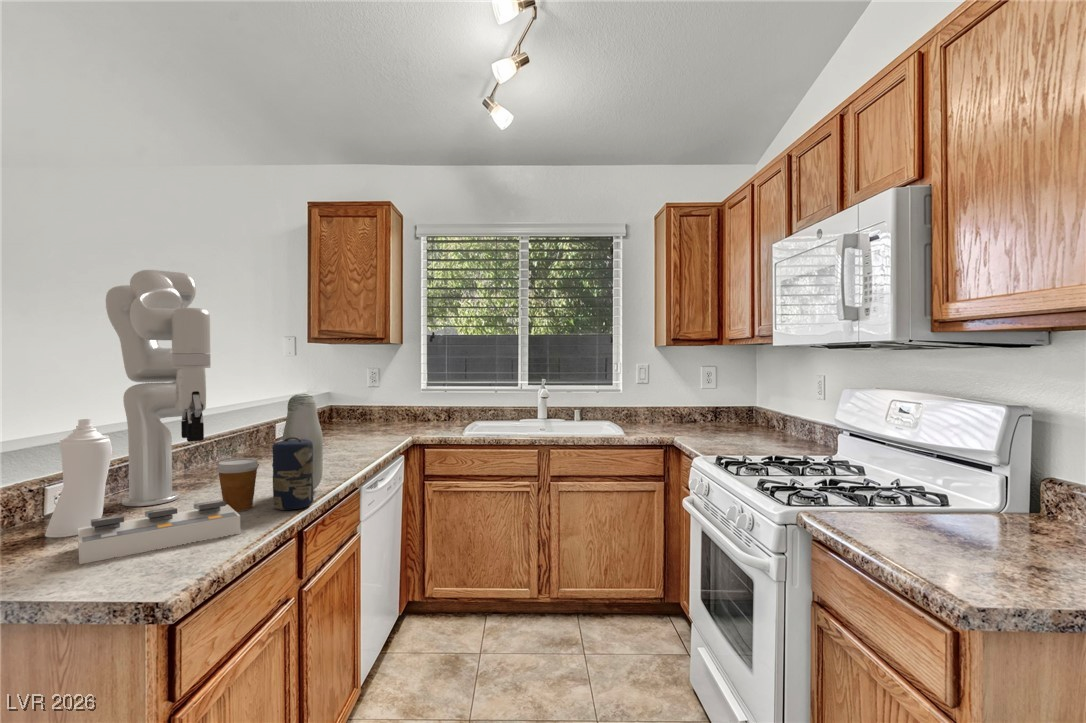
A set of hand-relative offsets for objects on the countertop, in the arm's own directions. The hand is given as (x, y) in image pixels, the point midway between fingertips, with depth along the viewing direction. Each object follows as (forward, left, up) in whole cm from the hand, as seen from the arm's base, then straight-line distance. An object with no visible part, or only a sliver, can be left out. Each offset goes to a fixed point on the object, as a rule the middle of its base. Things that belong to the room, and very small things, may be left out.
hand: (192, 438), depth 129 cm
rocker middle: (+7, -7, -14) cm, 18 cm away
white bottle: (-11, -20, -20) cm, 30 cm away
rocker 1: (+7, -16, -14) cm, 23 cm away
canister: (0, +22, -20) cm, 30 cm away
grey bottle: (-15, +29, -20) cm, 38 cm away
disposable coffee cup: (-8, +11, -20) cm, 24 cm away
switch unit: (+9, -7, -20) cm, 23 cm away
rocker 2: (+7, +2, -14) cm, 16 cm away
